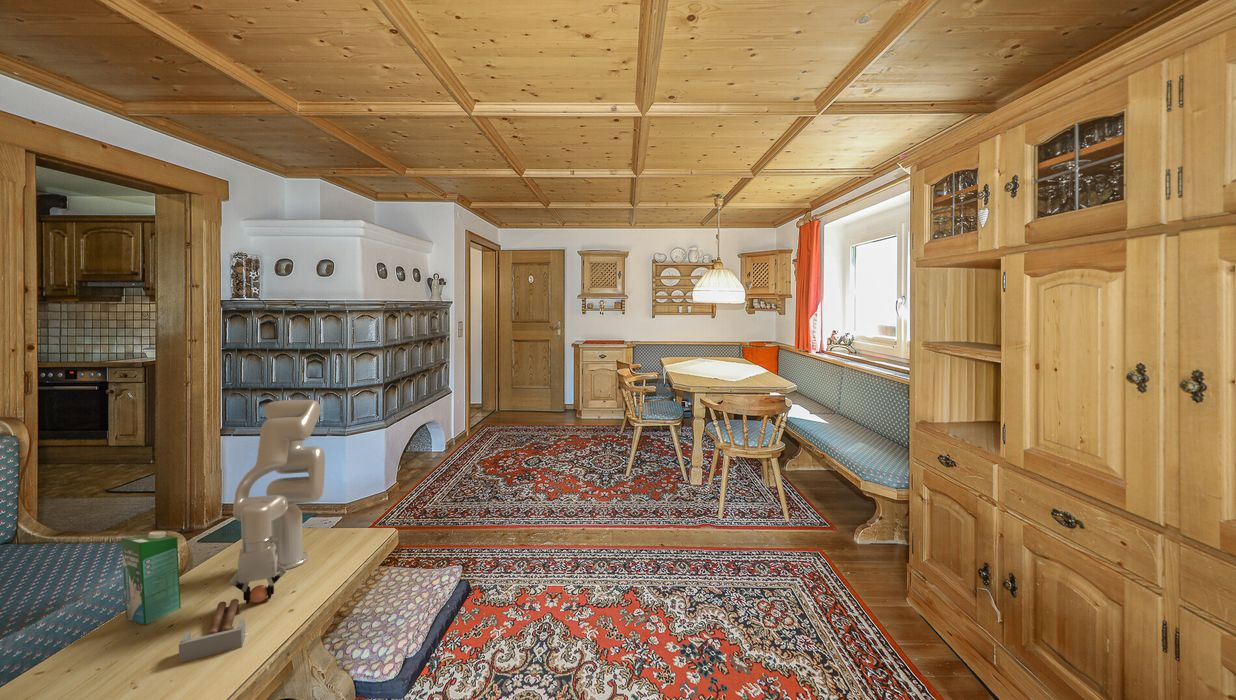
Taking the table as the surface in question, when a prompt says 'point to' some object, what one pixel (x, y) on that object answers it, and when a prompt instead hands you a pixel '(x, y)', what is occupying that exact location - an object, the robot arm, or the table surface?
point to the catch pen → (211, 643)
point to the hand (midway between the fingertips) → (259, 598)
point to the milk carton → (150, 576)
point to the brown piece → (224, 612)
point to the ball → (258, 593)
